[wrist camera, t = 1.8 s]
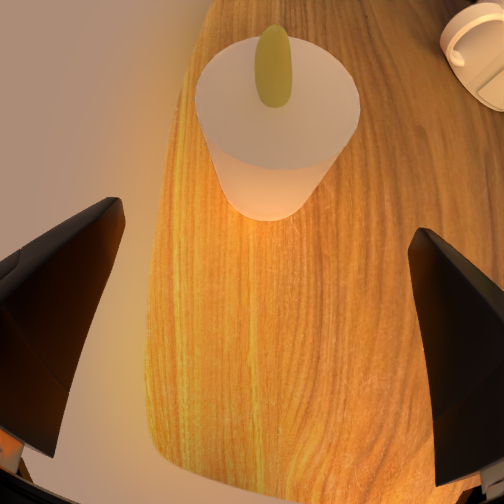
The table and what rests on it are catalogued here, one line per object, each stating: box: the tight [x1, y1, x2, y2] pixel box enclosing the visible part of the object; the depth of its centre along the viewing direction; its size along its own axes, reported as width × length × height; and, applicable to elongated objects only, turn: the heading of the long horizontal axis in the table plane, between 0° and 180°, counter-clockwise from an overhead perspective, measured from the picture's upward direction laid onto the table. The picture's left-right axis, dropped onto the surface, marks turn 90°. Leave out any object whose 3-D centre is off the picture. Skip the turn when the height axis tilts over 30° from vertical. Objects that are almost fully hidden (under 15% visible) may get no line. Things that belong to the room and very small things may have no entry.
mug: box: [440, 0, 504, 112], centre depth 17 cm, size 10×12×11 cm
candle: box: [194, 24, 360, 222], centre depth 14 cm, size 6×6×15 cm
